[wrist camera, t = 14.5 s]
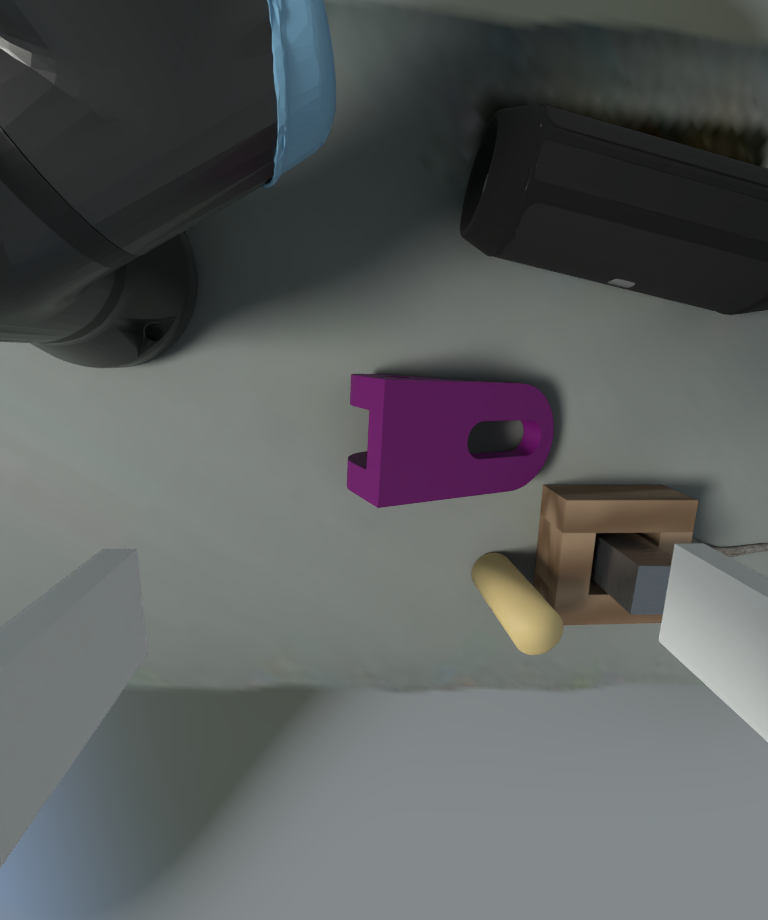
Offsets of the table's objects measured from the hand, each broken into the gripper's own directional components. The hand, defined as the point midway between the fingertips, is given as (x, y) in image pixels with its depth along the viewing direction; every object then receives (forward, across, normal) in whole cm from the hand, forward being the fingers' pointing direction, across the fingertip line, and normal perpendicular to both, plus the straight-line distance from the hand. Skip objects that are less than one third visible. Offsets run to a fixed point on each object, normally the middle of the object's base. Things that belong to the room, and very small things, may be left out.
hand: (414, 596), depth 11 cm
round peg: (+31, +12, -15) cm, 37 cm away
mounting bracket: (+32, +8, -1) cm, 33 cm away
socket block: (+32, +23, -12) cm, 41 cm away
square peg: (+32, +23, -12) cm, 41 cm away
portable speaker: (+32, +20, +16) cm, 41 cm away
